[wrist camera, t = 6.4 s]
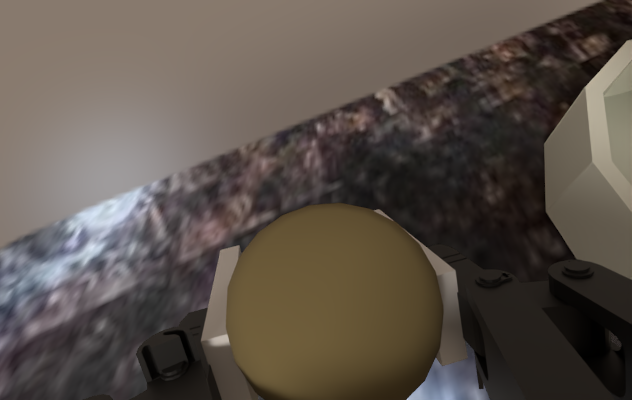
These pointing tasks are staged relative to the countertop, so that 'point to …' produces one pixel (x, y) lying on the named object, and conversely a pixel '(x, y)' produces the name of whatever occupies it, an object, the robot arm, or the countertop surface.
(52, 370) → the countertop surface
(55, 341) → the countertop surface
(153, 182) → the countertop surface
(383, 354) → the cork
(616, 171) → the bowl
